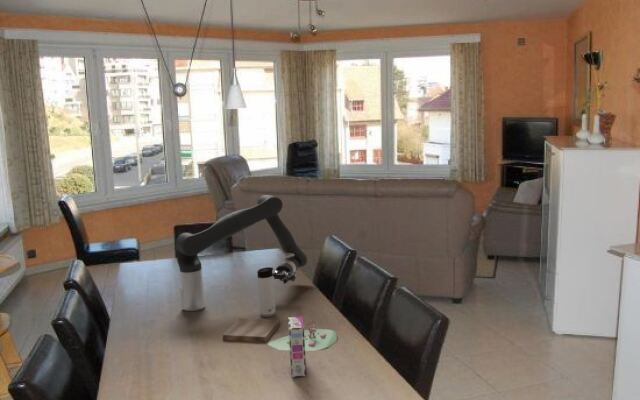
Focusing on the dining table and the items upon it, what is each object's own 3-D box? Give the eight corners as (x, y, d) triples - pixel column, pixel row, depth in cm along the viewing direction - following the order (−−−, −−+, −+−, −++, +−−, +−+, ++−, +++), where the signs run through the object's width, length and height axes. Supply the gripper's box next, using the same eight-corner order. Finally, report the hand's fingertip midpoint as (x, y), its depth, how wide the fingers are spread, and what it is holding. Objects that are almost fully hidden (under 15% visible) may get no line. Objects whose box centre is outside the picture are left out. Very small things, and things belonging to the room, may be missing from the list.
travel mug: (274, 317, 241) (270, 270, 238) (258, 317, 242) (254, 270, 239) (278, 312, 247) (274, 266, 244) (263, 311, 248) (259, 266, 245)
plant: (278, 360, 202) (276, 335, 200) (262, 339, 221) (261, 316, 219) (345, 346, 210) (344, 322, 209) (324, 326, 229) (323, 304, 228)
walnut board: (222, 340, 221) (222, 334, 220) (239, 323, 237) (239, 318, 236) (265, 342, 216) (265, 336, 216) (280, 324, 233) (279, 319, 232)
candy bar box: (307, 377, 187) (304, 327, 184) (291, 378, 186) (288, 329, 184) (305, 361, 198) (302, 315, 195) (290, 363, 197) (287, 316, 195)
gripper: (270, 262, 270) (258, 272, 254) (300, 262, 266) (289, 273, 251) (271, 278, 271) (259, 289, 256) (301, 278, 267) (291, 290, 252)
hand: (274, 281), depth 253 cm, fingers open, 8 cm apart
